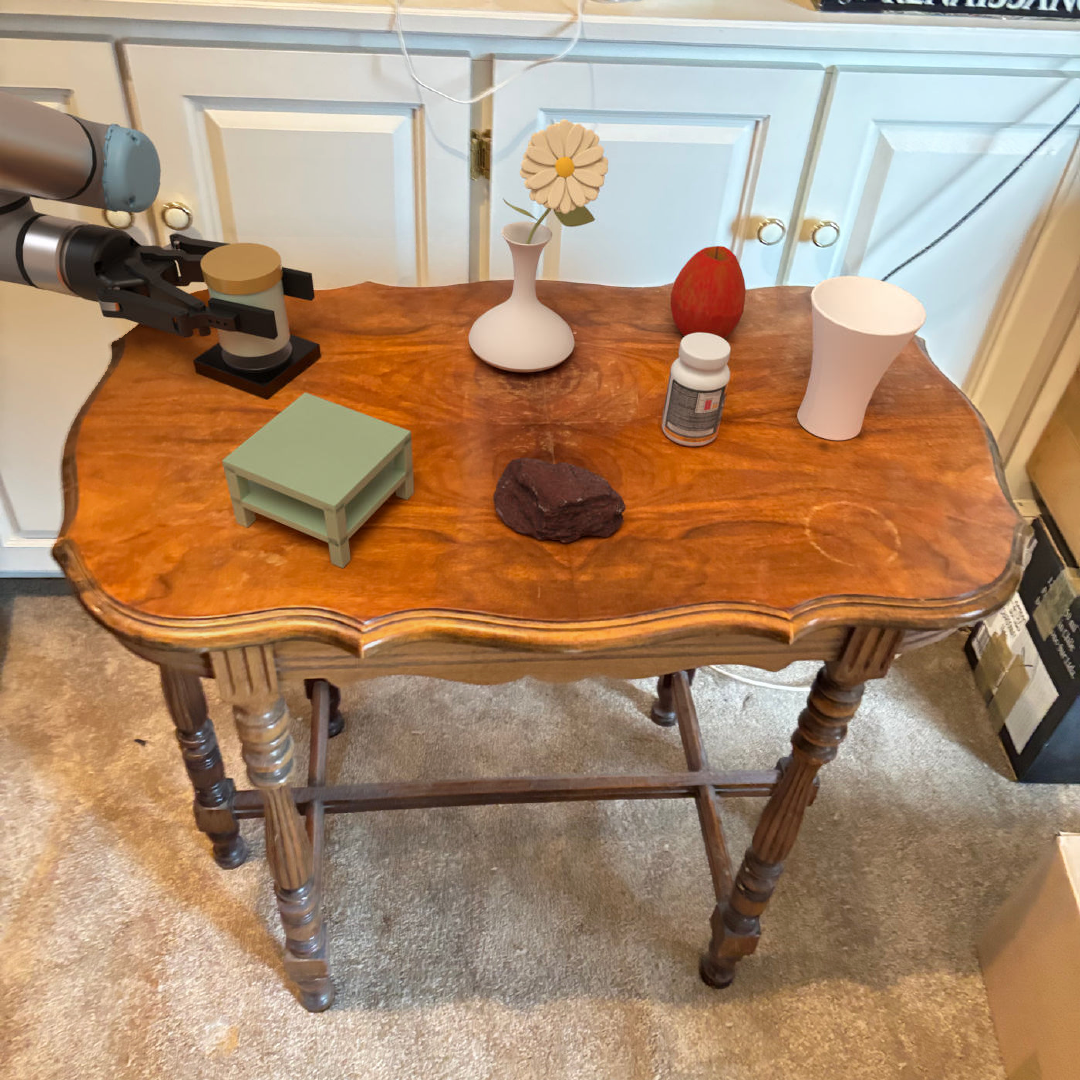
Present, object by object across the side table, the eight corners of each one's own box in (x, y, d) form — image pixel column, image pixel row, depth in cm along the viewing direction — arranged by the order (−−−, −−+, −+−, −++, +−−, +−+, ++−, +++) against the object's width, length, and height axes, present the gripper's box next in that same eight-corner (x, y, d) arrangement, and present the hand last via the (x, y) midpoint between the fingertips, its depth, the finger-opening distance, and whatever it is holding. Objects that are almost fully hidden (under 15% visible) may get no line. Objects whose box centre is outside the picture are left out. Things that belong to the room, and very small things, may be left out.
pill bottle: (727, 442, 92) (748, 356, 85) (676, 453, 91) (693, 367, 84) (700, 409, 96) (718, 324, 89) (650, 419, 94) (664, 334, 87)
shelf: (236, 523, 80) (221, 460, 75) (314, 453, 88) (305, 391, 83) (342, 568, 77) (334, 506, 72) (414, 492, 84) (411, 430, 80)
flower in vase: (455, 371, 98) (453, 129, 81) (484, 317, 106) (488, 86, 89) (576, 393, 97) (601, 151, 79) (596, 337, 105) (623, 105, 88)
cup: (902, 437, 94) (951, 319, 85) (823, 464, 91) (864, 344, 81) (833, 382, 101) (871, 267, 92) (756, 405, 97) (788, 287, 88)
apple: (690, 307, 111) (706, 220, 103) (751, 333, 107) (772, 246, 100) (651, 334, 106) (665, 245, 98) (713, 362, 102) (733, 272, 95)
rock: (613, 560, 83) (596, 493, 88) (640, 514, 79) (621, 447, 84) (497, 550, 80) (486, 481, 85) (519, 502, 75) (506, 432, 80)
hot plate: (195, 373, 96) (192, 358, 94) (253, 332, 102) (250, 318, 100) (266, 400, 93) (264, 384, 92) (321, 356, 99) (319, 342, 98)
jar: (201, 344, 94) (183, 266, 88) (249, 311, 99) (235, 235, 93) (260, 366, 92) (246, 288, 86) (307, 331, 97) (296, 255, 91)
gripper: (152, 252, 104) (341, 292, 101) (33, 343, 91) (248, 393, 87) (135, 186, 99) (334, 225, 95) (6, 272, 85) (234, 322, 81)
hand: (293, 305), depth 91 cm, fingers closed on jar, 7 cm apart
